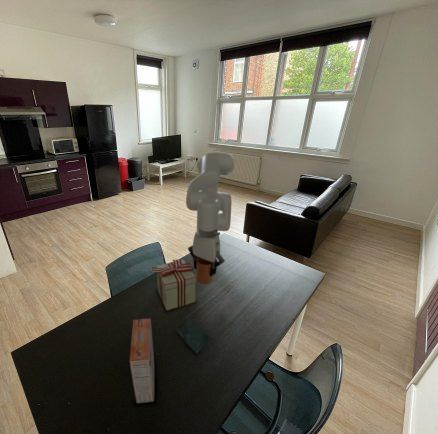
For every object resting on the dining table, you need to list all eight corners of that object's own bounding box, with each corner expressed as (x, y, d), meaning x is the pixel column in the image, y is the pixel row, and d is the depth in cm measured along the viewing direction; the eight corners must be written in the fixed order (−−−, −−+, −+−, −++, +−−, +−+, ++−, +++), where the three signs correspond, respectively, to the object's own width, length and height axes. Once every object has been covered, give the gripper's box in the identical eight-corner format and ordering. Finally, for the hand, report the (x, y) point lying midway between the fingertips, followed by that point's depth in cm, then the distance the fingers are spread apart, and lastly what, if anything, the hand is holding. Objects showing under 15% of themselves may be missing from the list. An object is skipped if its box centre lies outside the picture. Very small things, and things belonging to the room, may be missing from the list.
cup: (192, 279, 96) (193, 261, 93) (201, 271, 101) (202, 253, 98) (207, 286, 93) (208, 267, 89) (215, 277, 97) (217, 259, 94)
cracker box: (137, 360, 86) (132, 318, 77) (154, 359, 86) (151, 317, 77) (134, 404, 73) (128, 360, 64) (154, 402, 73) (150, 358, 64)
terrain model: (211, 342, 92) (211, 338, 91) (196, 354, 88) (196, 351, 87) (188, 321, 101) (188, 318, 100) (174, 332, 97) (174, 328, 96)
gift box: (180, 278, 126) (180, 250, 119) (198, 301, 111) (199, 272, 104) (150, 288, 120) (148, 259, 112) (164, 314, 104) (163, 283, 97)
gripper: (232, 234, 86) (228, 274, 93) (193, 221, 95) (192, 258, 103) (223, 242, 80) (219, 284, 88) (181, 228, 90) (181, 267, 97)
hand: (204, 270), depth 95 cm, fingers closed on cup, 6 cm apart
